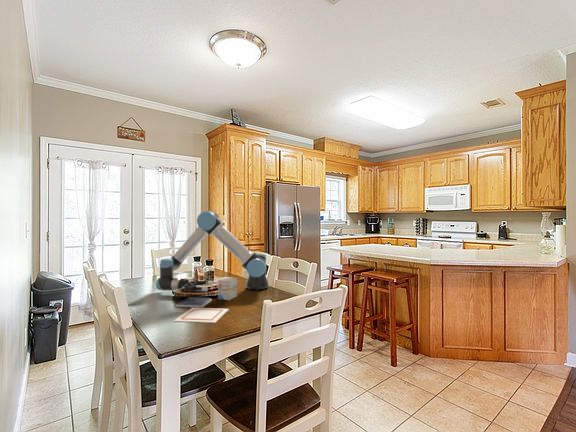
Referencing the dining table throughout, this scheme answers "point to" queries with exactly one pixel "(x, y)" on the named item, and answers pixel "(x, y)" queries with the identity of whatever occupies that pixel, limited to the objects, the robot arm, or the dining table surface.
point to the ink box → (227, 288)
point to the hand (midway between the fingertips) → (212, 286)
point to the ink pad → (194, 302)
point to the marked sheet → (202, 315)
